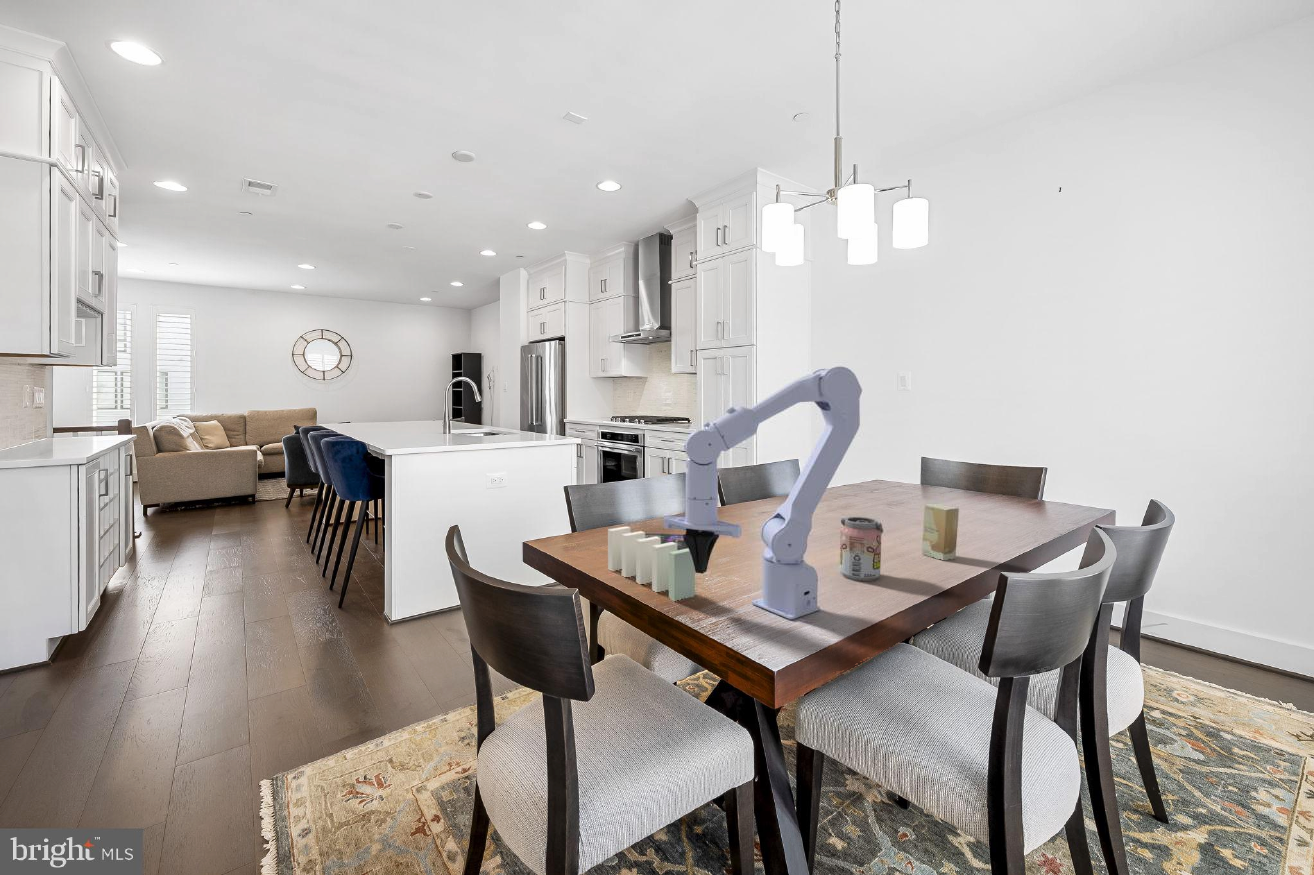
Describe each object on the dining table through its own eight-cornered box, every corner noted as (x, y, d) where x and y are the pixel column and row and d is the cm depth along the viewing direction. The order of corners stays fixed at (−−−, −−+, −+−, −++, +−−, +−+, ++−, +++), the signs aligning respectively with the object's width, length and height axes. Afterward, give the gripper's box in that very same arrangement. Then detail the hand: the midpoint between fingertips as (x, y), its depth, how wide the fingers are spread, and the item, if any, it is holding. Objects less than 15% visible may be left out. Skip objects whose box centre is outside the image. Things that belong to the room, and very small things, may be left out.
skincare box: (920, 554, 135) (922, 504, 134) (933, 552, 136) (935, 502, 135) (944, 561, 129) (946, 509, 128) (957, 559, 131) (959, 507, 130)
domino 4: (677, 588, 111) (677, 543, 110) (656, 593, 108) (656, 547, 107) (672, 585, 112) (672, 541, 112) (651, 591, 109) (652, 545, 109)
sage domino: (694, 596, 107) (694, 549, 106) (674, 601, 104) (674, 554, 103) (689, 593, 108) (689, 547, 107) (668, 599, 105) (668, 552, 104)
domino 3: (660, 580, 115) (660, 537, 115) (640, 585, 112) (640, 541, 112) (656, 578, 117) (655, 536, 116) (636, 583, 114) (636, 540, 113)
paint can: (845, 566, 125) (846, 513, 124) (885, 572, 121) (887, 517, 120) (834, 577, 117) (835, 521, 116) (876, 584, 113) (878, 526, 112)
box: (685, 571, 125) (687, 545, 144) (685, 555, 124) (687, 532, 144) (623, 568, 126) (633, 543, 145) (623, 553, 126) (634, 530, 145)
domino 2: (645, 573, 120) (645, 532, 119) (625, 578, 117) (625, 536, 116) (641, 572, 121) (640, 531, 120) (621, 576, 118) (621, 534, 117)
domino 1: (630, 567, 124) (630, 527, 124) (612, 571, 121) (611, 530, 121) (626, 565, 126) (626, 526, 125) (608, 569, 122) (607, 529, 122)
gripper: (748, 497, 100) (747, 571, 101) (675, 490, 107) (675, 560, 108) (733, 503, 94) (732, 583, 95) (657, 496, 101) (657, 570, 102)
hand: (701, 571), depth 101 cm, fingers closed
